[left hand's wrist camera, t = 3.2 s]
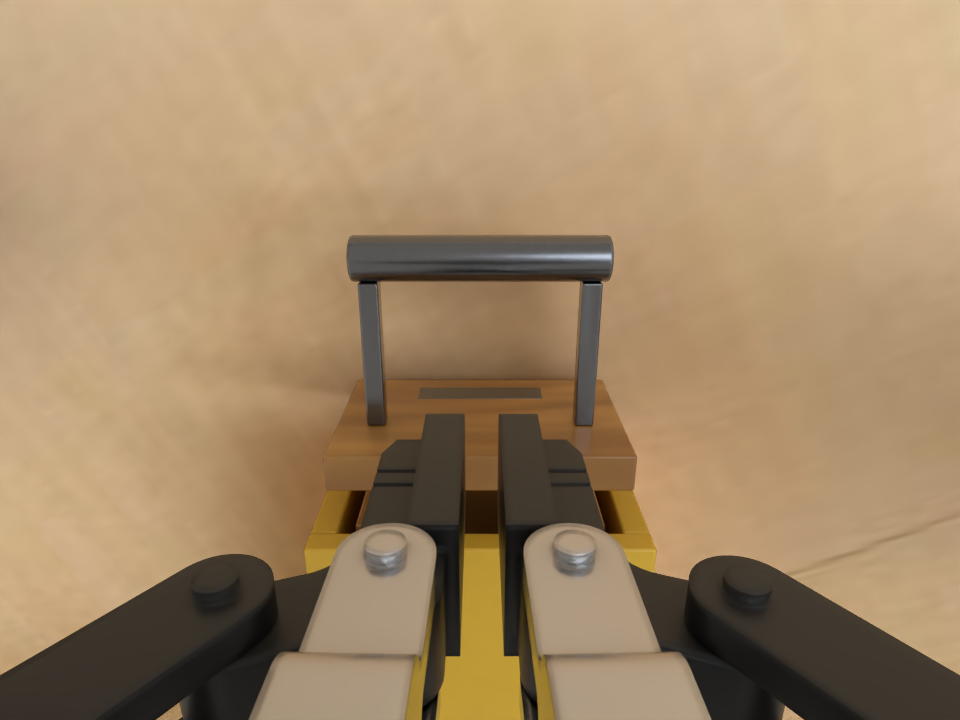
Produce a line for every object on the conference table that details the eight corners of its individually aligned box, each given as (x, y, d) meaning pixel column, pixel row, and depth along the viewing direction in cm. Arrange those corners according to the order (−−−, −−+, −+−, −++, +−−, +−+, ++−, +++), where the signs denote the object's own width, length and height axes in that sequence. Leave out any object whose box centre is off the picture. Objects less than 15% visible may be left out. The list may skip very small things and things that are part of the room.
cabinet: (351, 429, 27) (302, 549, 19) (609, 429, 27) (657, 549, 19) (377, 759, 33) (348, 940, 26) (583, 758, 33) (612, 940, 26)
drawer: (345, 216, 23) (302, 251, 17) (614, 216, 23) (657, 251, 17) (382, 720, 31) (361, 853, 25) (577, 720, 31) (599, 853, 25)
